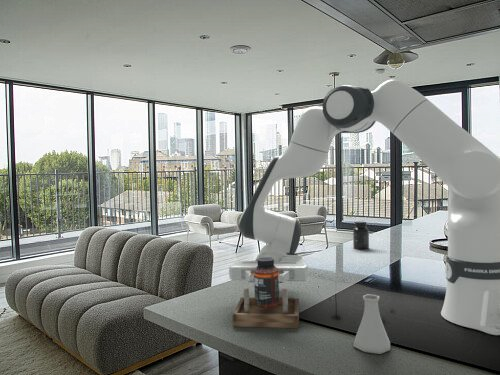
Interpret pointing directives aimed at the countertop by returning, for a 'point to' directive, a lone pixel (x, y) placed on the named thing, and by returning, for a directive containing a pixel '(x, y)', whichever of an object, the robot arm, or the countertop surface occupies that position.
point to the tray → (267, 312)
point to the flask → (372, 328)
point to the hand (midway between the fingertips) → (266, 279)
